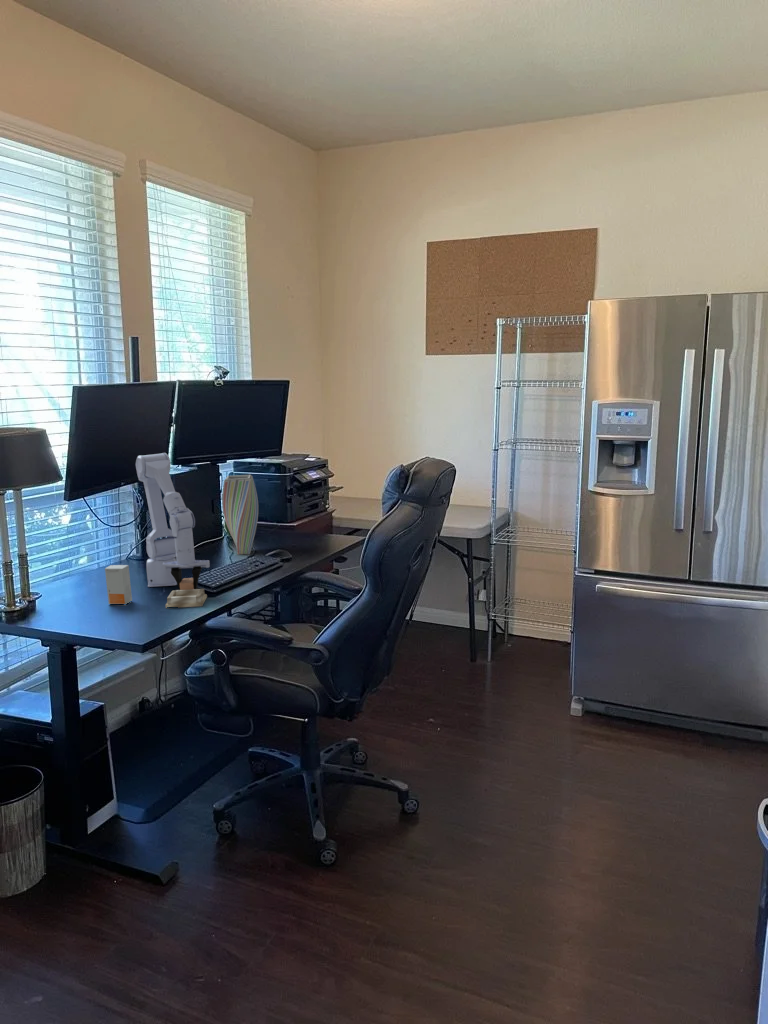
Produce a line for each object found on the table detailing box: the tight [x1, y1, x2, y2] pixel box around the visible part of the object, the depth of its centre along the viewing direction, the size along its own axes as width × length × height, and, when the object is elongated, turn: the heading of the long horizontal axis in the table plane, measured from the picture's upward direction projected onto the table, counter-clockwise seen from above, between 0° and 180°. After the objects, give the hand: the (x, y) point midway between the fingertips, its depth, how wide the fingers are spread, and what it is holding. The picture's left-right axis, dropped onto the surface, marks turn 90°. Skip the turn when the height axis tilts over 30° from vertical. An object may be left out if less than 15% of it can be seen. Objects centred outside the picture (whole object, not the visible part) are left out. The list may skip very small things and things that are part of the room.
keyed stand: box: [165, 588, 208, 609], centre depth 232 cm, size 11×9×3 cm
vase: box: [221, 474, 259, 555], centre depth 289 cm, size 14×14×30 cm
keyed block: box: [180, 577, 194, 590], centre depth 241 cm, size 4×6×4 cm, turn 4°
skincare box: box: [104, 564, 133, 605], centre depth 233 cm, size 6×4×12 cm
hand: (188, 589), depth 241 cm, fingers closed on keyed block, 4 cm apart
